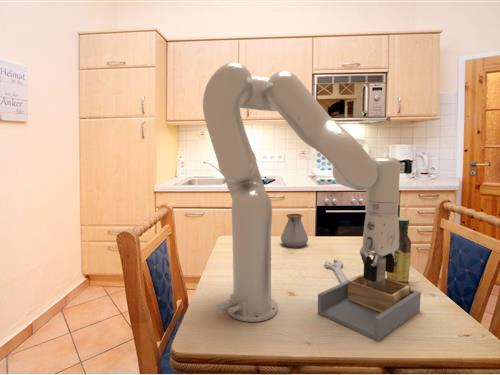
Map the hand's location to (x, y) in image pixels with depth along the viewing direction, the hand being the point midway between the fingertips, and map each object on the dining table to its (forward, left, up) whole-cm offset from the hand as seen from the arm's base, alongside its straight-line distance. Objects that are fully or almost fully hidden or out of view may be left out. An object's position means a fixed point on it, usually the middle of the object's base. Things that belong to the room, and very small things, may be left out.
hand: (378, 275), depth 85 cm
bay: (-4, 0, -8) cm, 9 cm away
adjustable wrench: (+10, +19, -9) cm, 23 cm away
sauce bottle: (+19, +4, -9) cm, 21 cm away
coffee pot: (+21, +48, -9) cm, 53 cm away
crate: (0, 0, -7) cm, 7 cm away
